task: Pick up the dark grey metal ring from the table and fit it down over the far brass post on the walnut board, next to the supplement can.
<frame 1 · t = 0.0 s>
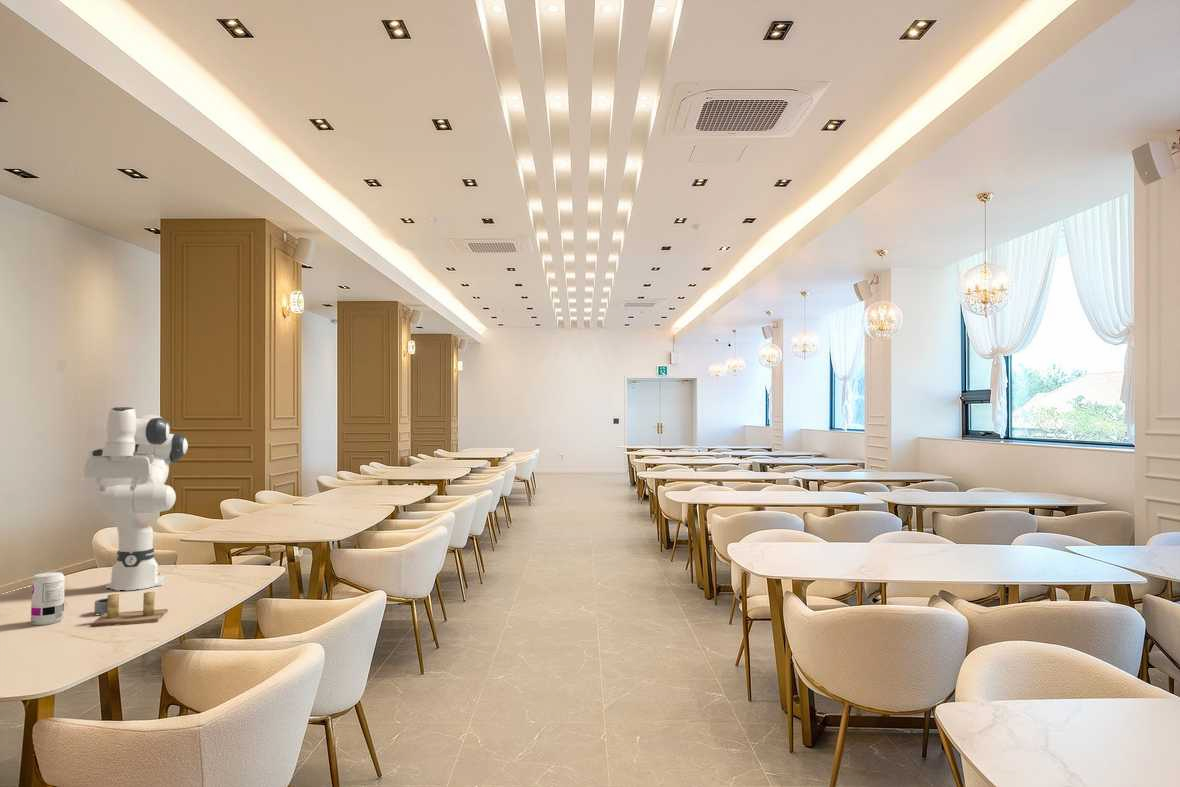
hand: (117, 491, 248), 39 cm above the table, tool pointing down, fingers open, 8 cm apart
post board: (130, 619, 225), on the table
supplement can: (47, 622, 222), on the table
ring: (106, 612, 233), on the table
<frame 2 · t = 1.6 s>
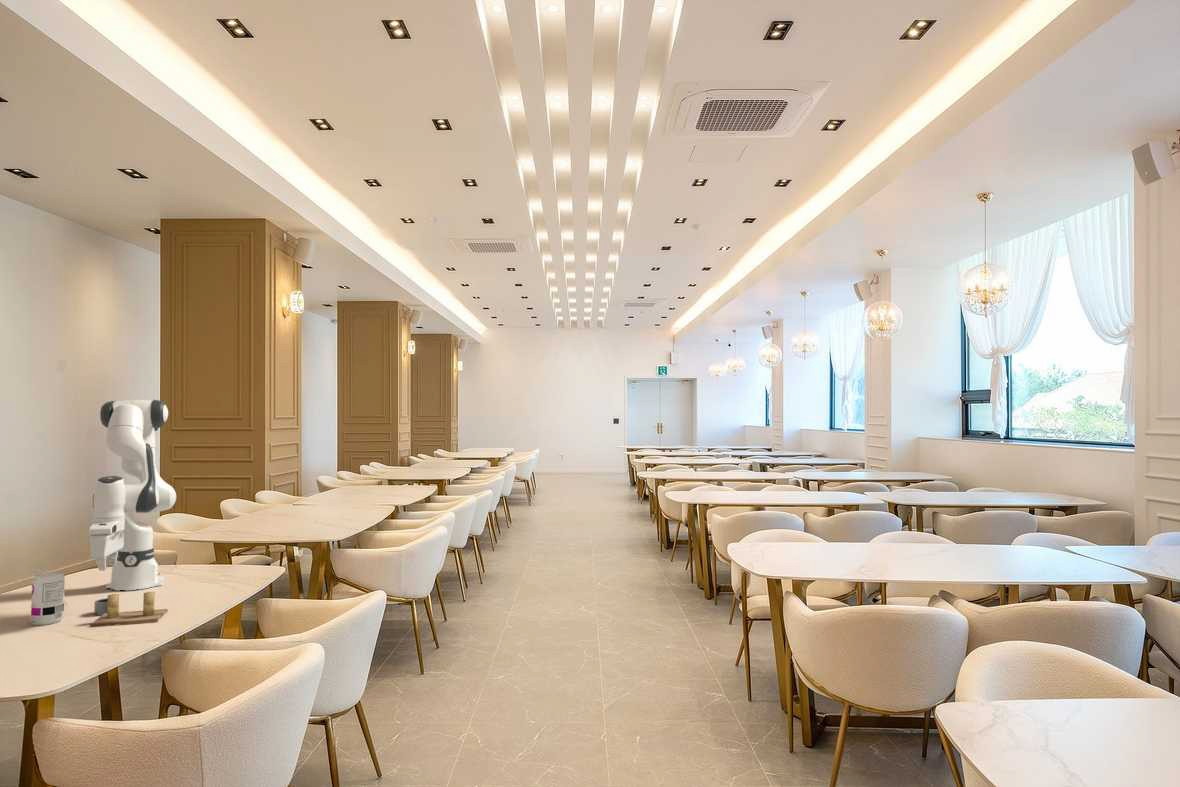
hand: (107, 567, 233), 15 cm above the table, tool pointing down, fingers open, 8 cm apart
nothing on the table moved.
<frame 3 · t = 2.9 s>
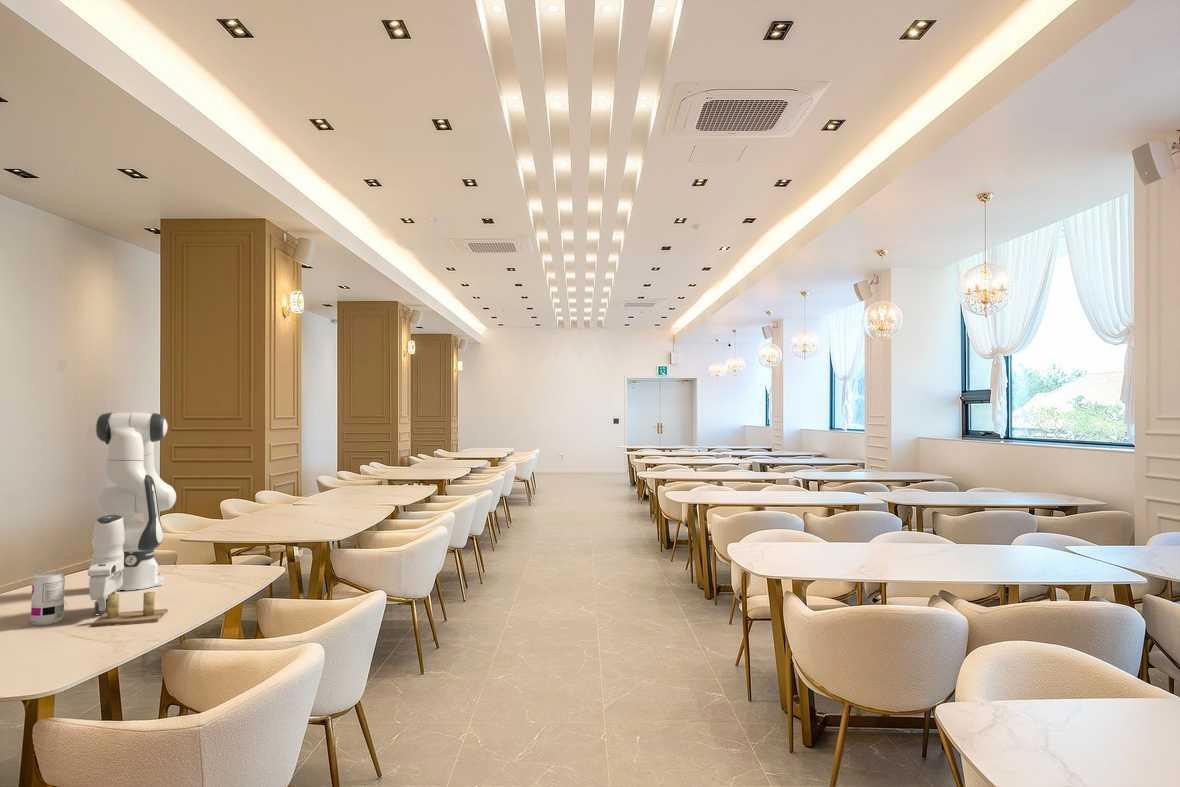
hand: (106, 607, 233), 2 cm above the table, tool pointing down, fingers closed on ring, 6 cm apart
ring: (106, 612, 233), on the table, touching gripper
everything else where it was.
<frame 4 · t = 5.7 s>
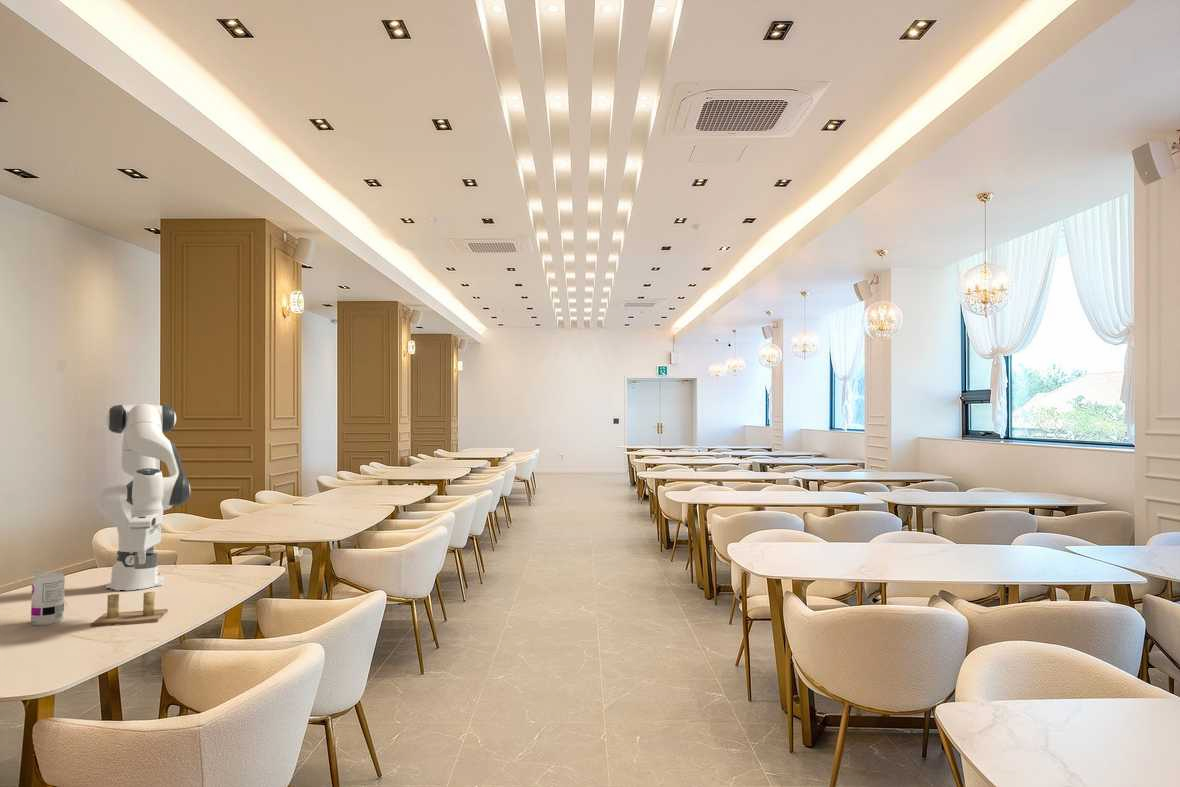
hand: (146, 561, 228), 18 cm above the table, tool pointing down, fingers closed on ring, 6 cm apart
ring: (145, 567, 228), point 16 cm above the table, touching gripper
everything else where it was.
when the fingers open (7 cm above the table, at t = 8.0 s): ring drops 4 cm, resting on post board.
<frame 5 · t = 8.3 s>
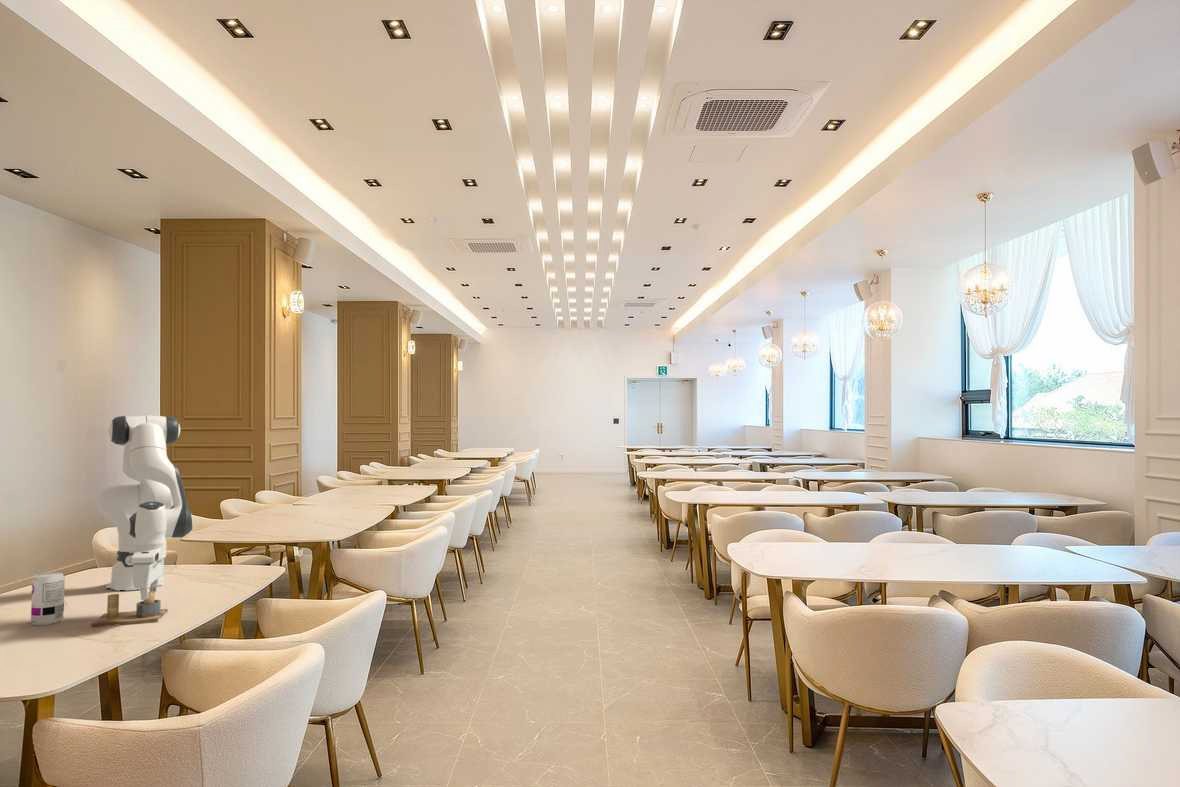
hand: (149, 595, 227), 7 cm above the table, tool pointing down, fingers open, 8 cm apart
ring: (148, 614, 227), point 1 cm above the table, touching post board
everything else where it was.
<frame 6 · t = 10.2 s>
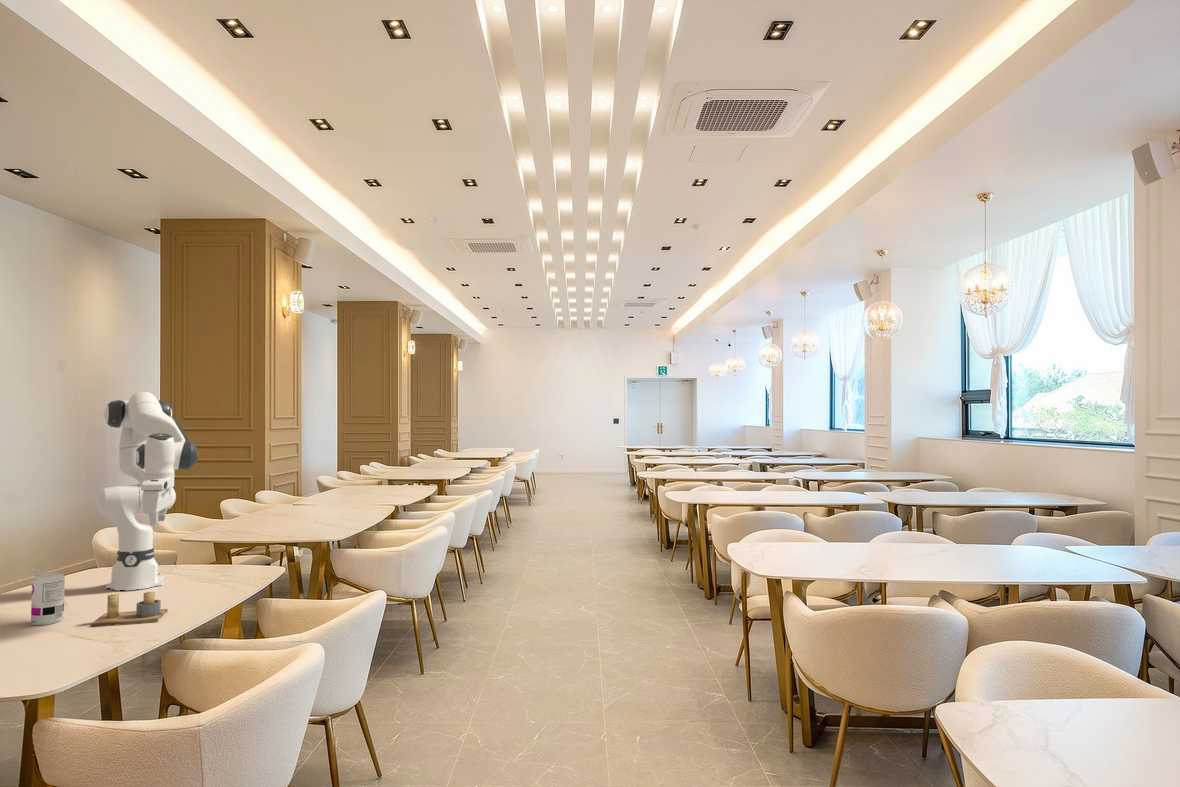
hand: (157, 523, 236), 29 cm above the table, tool pointing down, fingers open, 8 cm apart
nothing on the table moved.
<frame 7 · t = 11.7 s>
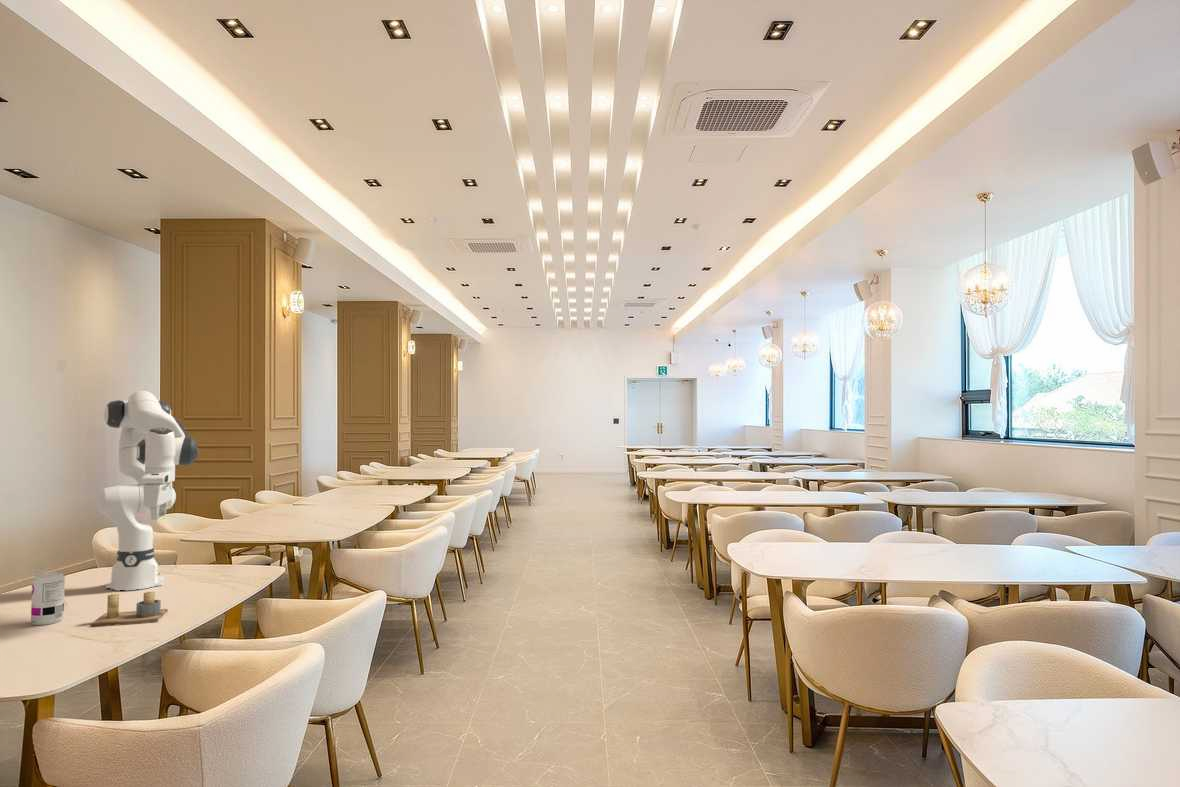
hand: (158, 517, 237), 31 cm above the table, tool pointing down, fingers open, 8 cm apart
nothing on the table moved.
at the end: ring 0.1 cm from the target spot on the post board, point 1.0 cm above the post board's base; the gripper is holding nothing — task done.
